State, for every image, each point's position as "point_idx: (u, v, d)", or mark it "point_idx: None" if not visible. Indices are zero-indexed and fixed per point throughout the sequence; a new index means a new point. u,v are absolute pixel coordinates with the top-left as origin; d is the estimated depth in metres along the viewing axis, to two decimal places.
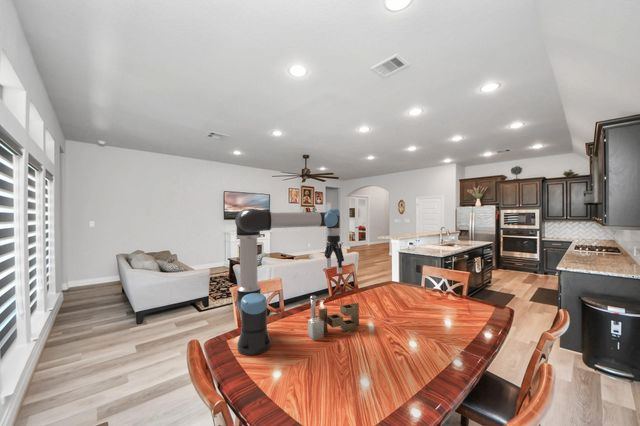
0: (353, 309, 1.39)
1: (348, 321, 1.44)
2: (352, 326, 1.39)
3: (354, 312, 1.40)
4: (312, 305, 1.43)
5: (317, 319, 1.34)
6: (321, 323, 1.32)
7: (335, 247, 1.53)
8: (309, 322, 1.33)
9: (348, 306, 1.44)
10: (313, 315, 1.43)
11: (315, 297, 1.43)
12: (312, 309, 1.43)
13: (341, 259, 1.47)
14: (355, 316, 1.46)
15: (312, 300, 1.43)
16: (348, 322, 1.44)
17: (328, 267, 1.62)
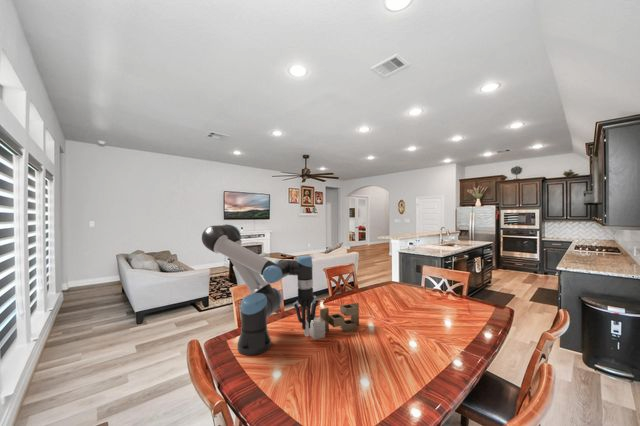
0: (353, 309, 1.39)
1: (348, 321, 1.44)
2: (352, 326, 1.39)
3: (354, 312, 1.40)
4: None
5: (318, 319, 1.34)
6: (322, 323, 1.32)
7: None
8: None
9: (348, 306, 1.44)
10: None
11: (315, 297, 1.43)
12: None
13: (298, 320, 1.30)
14: (355, 316, 1.46)
15: None
16: (348, 322, 1.44)
17: None
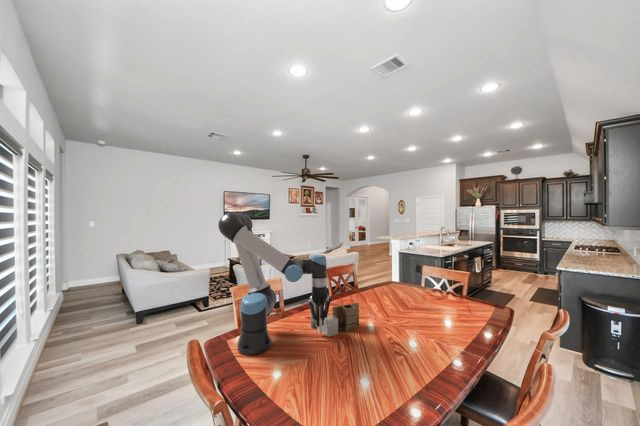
0: (353, 309, 1.39)
1: None
2: (352, 326, 1.39)
3: (354, 312, 1.40)
4: None
5: (331, 317, 1.37)
6: (335, 320, 1.35)
7: None
8: (324, 319, 1.37)
9: (348, 306, 1.44)
10: None
11: None
12: None
13: (313, 317, 1.33)
14: None
15: None
16: None
17: None
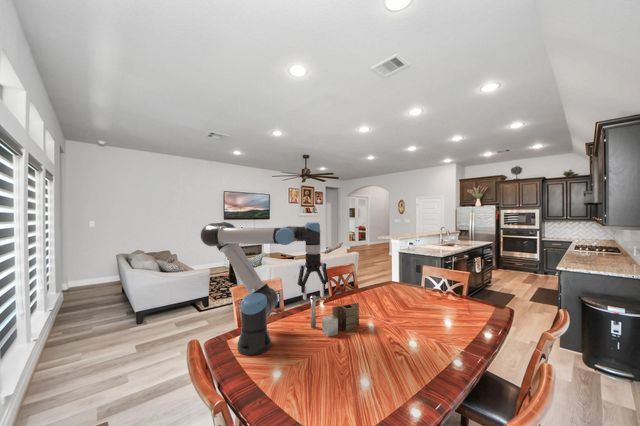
0: (353, 309, 1.39)
1: None
2: (352, 326, 1.39)
3: (354, 312, 1.40)
4: (312, 305, 1.43)
5: (331, 317, 1.37)
6: (335, 320, 1.35)
7: None
8: (323, 319, 1.37)
9: (348, 306, 1.44)
10: (313, 315, 1.43)
11: (315, 297, 1.43)
12: (312, 309, 1.43)
13: (298, 283, 1.30)
14: None
15: (312, 300, 1.43)
16: None
17: (321, 294, 1.35)
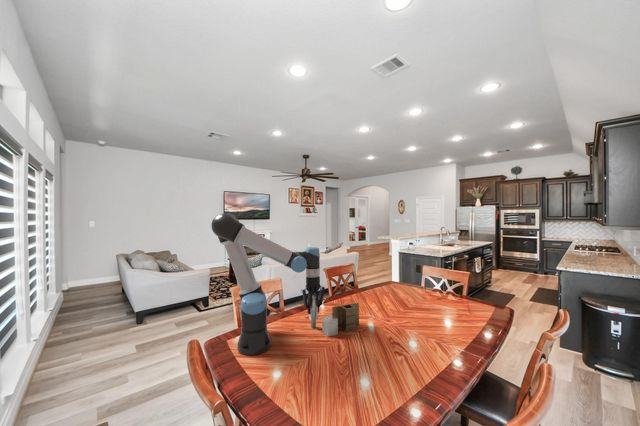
0: (353, 309, 1.39)
1: None
2: (352, 326, 1.39)
3: (354, 312, 1.40)
4: (312, 305, 1.43)
5: (331, 317, 1.37)
6: (335, 320, 1.35)
7: None
8: (323, 319, 1.37)
9: (348, 306, 1.44)
10: (313, 315, 1.43)
11: (315, 297, 1.43)
12: (312, 309, 1.43)
13: (304, 305, 1.42)
14: None
15: (312, 300, 1.43)
16: None
17: None
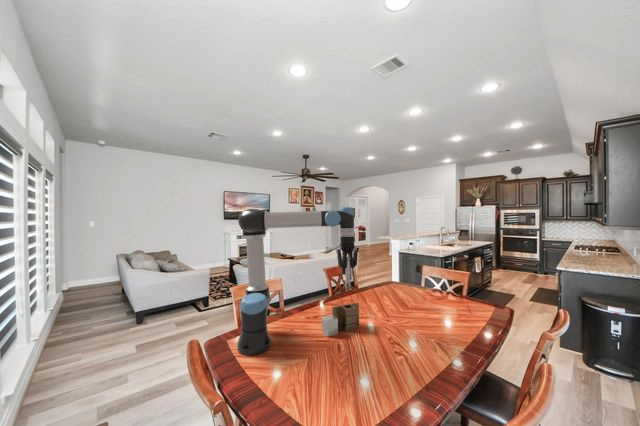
0: (353, 309, 1.39)
1: None
2: (352, 326, 1.39)
3: (354, 312, 1.40)
4: (347, 265, 1.41)
5: (331, 317, 1.37)
6: (335, 320, 1.35)
7: None
8: (323, 319, 1.37)
9: (348, 306, 1.44)
10: (348, 276, 1.40)
11: (350, 257, 1.41)
12: (347, 270, 1.40)
13: (339, 265, 1.40)
14: None
15: (347, 260, 1.41)
16: None
17: None
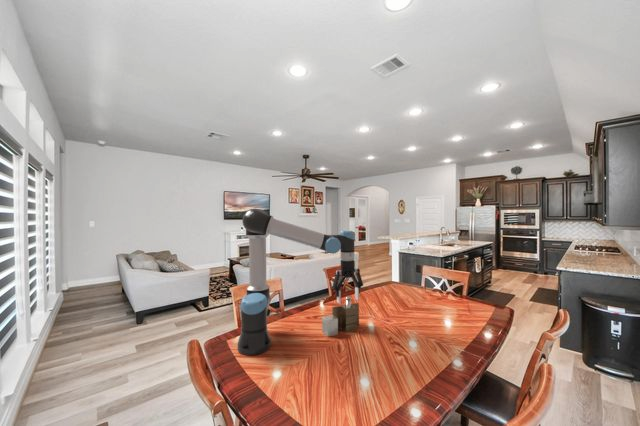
0: (353, 309, 1.39)
1: None
2: (352, 326, 1.39)
3: (354, 312, 1.40)
4: (347, 306, 1.40)
5: (331, 317, 1.37)
6: (335, 320, 1.35)
7: (341, 273, 1.41)
8: (323, 319, 1.37)
9: None
10: None
11: (351, 298, 1.41)
12: None
13: (333, 287, 1.38)
14: None
15: (348, 301, 1.40)
16: None
17: (355, 297, 1.44)
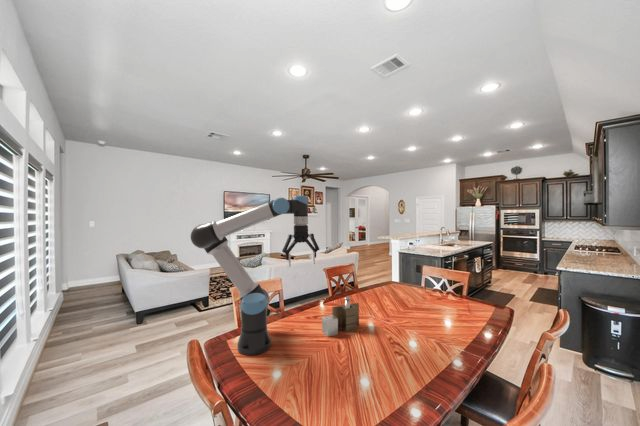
0: (353, 309, 1.39)
1: None
2: (352, 326, 1.39)
3: (354, 312, 1.40)
4: (347, 306, 1.40)
5: (331, 317, 1.37)
6: (335, 320, 1.35)
7: (294, 238, 1.40)
8: (323, 319, 1.37)
9: None
10: None
11: (350, 298, 1.40)
12: None
13: (282, 250, 1.37)
14: None
15: (347, 301, 1.40)
16: None
17: (312, 261, 1.43)
